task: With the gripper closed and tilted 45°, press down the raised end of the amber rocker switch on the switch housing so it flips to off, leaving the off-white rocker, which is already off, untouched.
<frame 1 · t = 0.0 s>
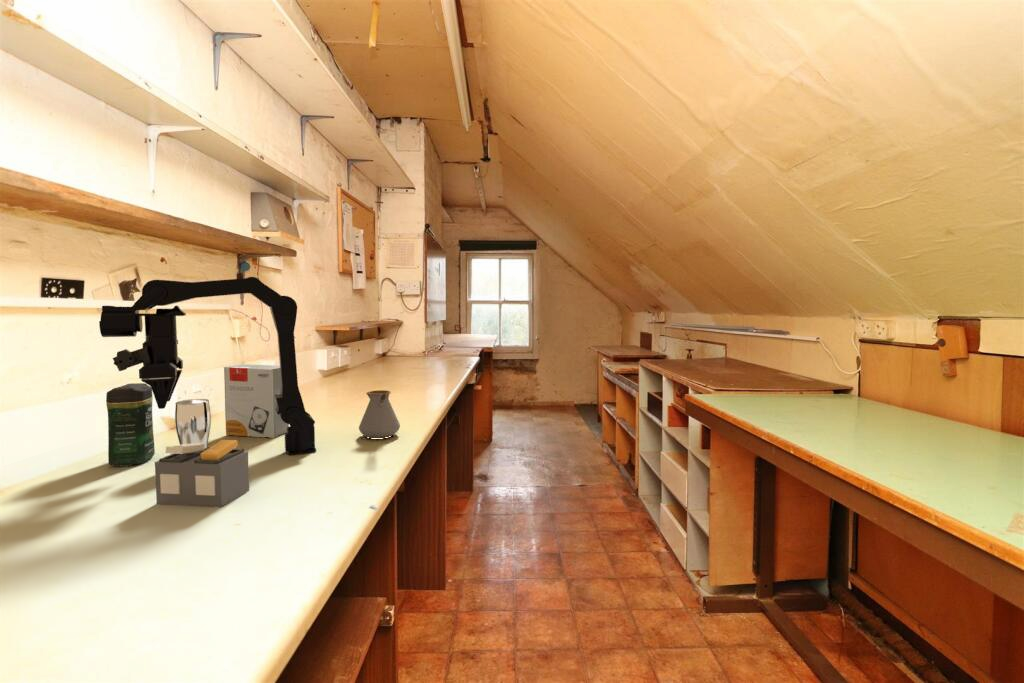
hand: (164, 404, 110), 15 cm above the table, tool pointing down, fingers open, 9 cm apart
switch housing: (204, 497, 94), on the table
hard drive box: (258, 434, 141), on the table
amber rocker: (219, 449, 93), point 10 cm above the table, hinge at 10.0°
coffee jar: (133, 462, 116), on the table
coffee pot: (381, 441, 135), on the table
white rocker: (185, 448, 94), point 10 cm above the table, hinge at -10.0°
beer glass: (195, 465, 113), on the table
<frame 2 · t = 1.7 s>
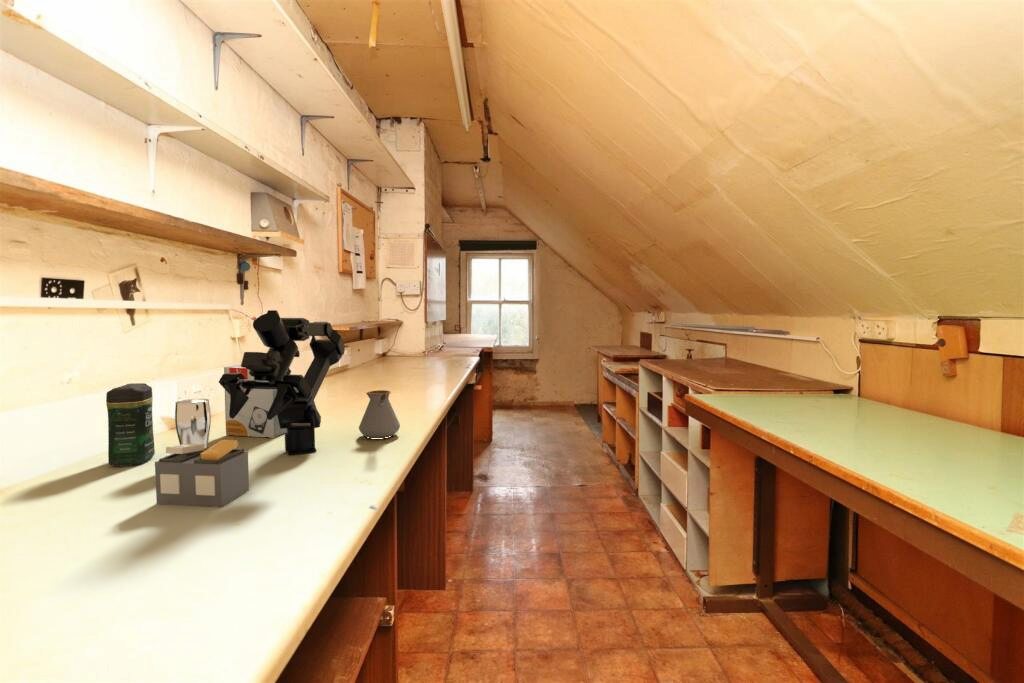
hand: (249, 418, 102), 13 cm above the table, tool tilted 45°, fingers open, 8 cm apart
nothing on the table moved.
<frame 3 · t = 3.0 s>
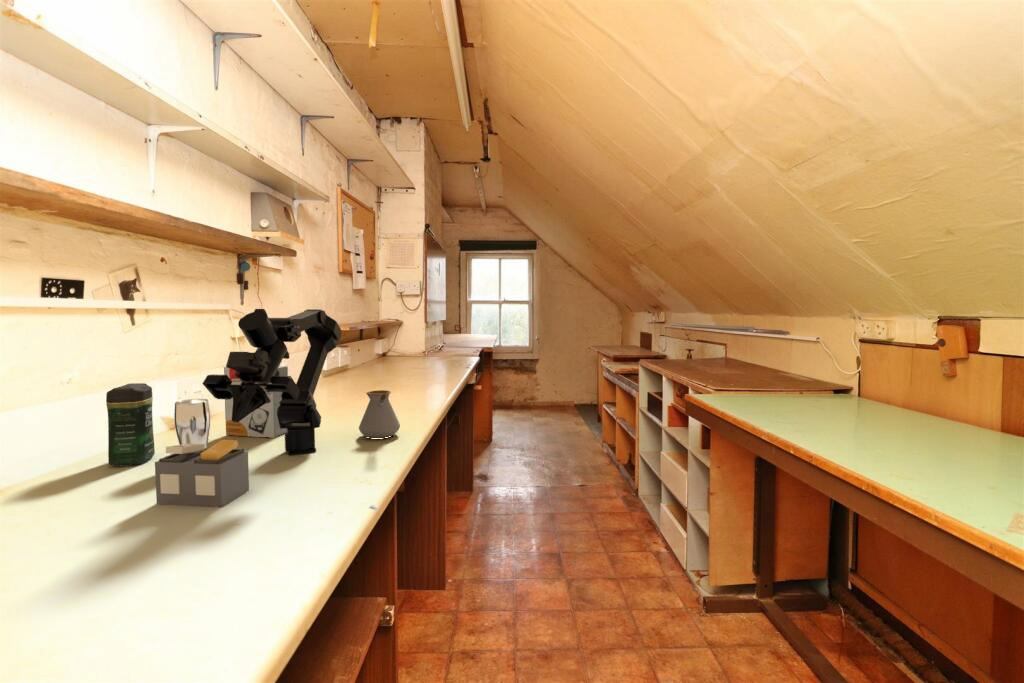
hand: (234, 421, 97), 14 cm above the table, tool tilted 45°, fingers closed
nothing on the table moved.
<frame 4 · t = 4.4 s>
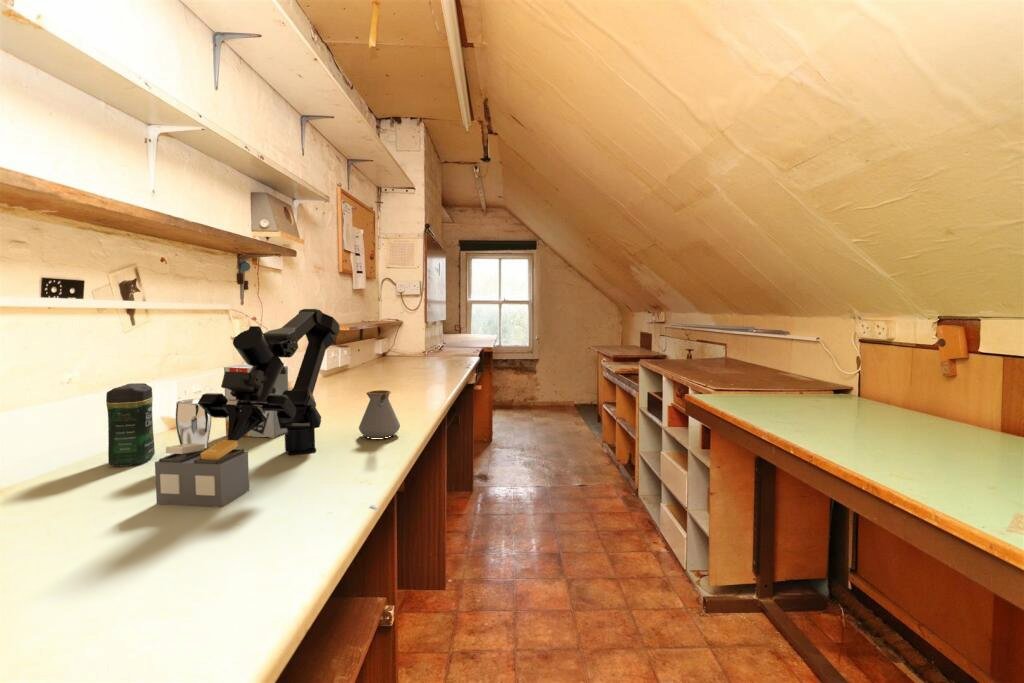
hand: (230, 442, 96), 10 cm above the table, tool tilted 45°, fingers closed, pressing on amber rocker
amber rocker: (219, 449, 93), point 10 cm above the table, hinge at 8.9°, touching gripper
everything else where it was.
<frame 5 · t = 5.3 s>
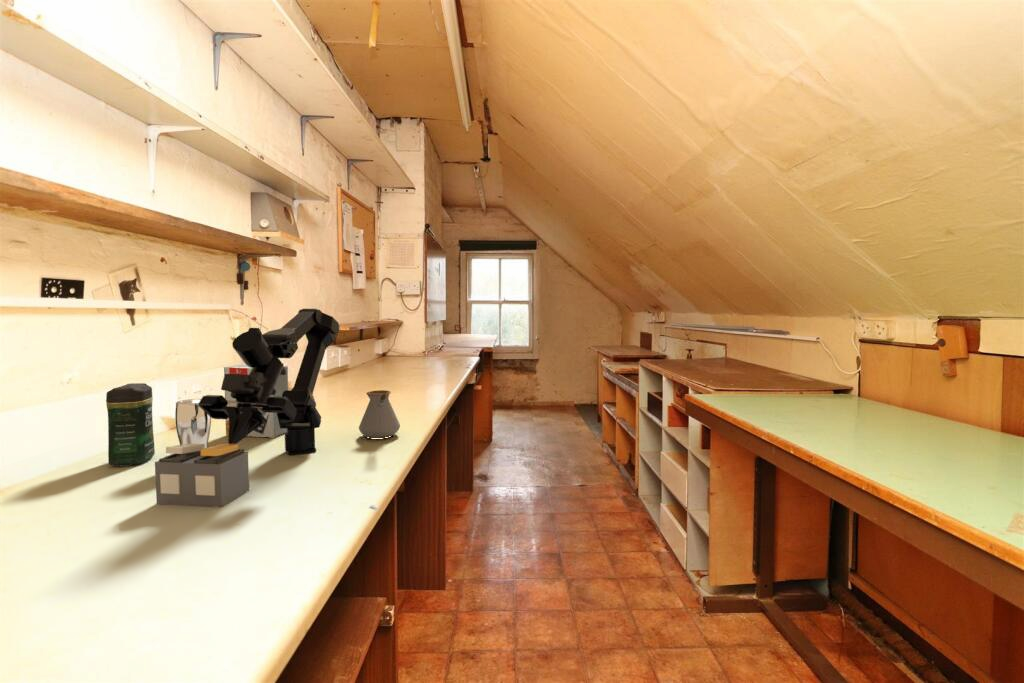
hand: (231, 444, 96), 10 cm above the table, tool tilted 45°, fingers closed, pressing on amber rocker
amber rocker: (219, 449, 93), point 10 cm above the table, hinge at -5.9°, touching gripper
everything else where it was.
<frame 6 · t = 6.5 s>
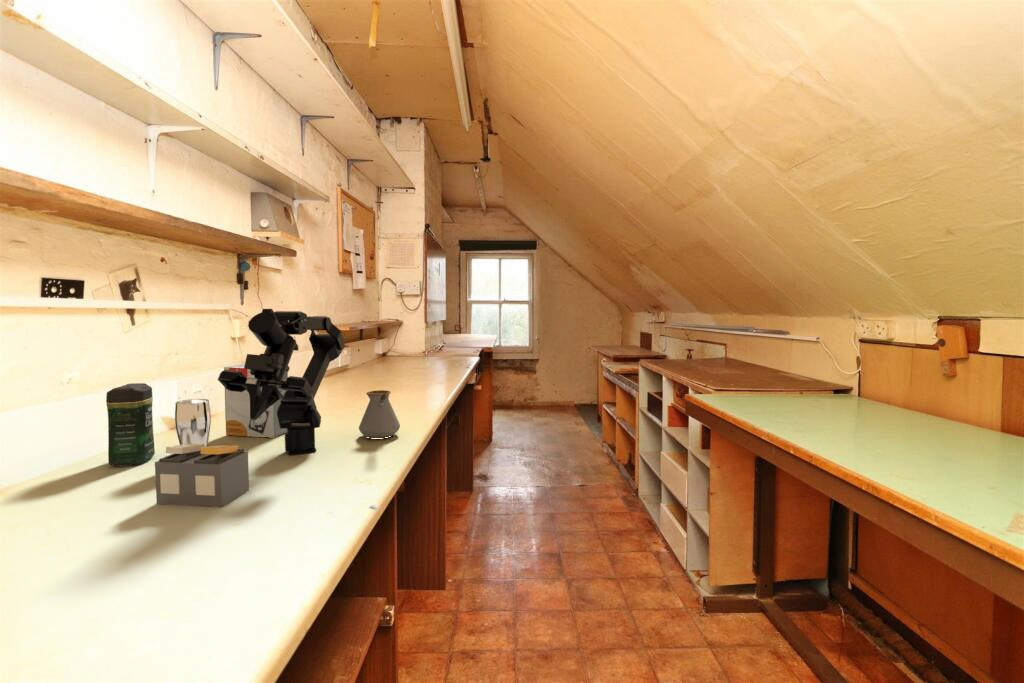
hand: (252, 419, 104), 13 cm above the table, tool tilted 35°, fingers closed
amber rocker: (219, 449, 93), point 10 cm above the table, hinge at -12.3°
everything else where it was.
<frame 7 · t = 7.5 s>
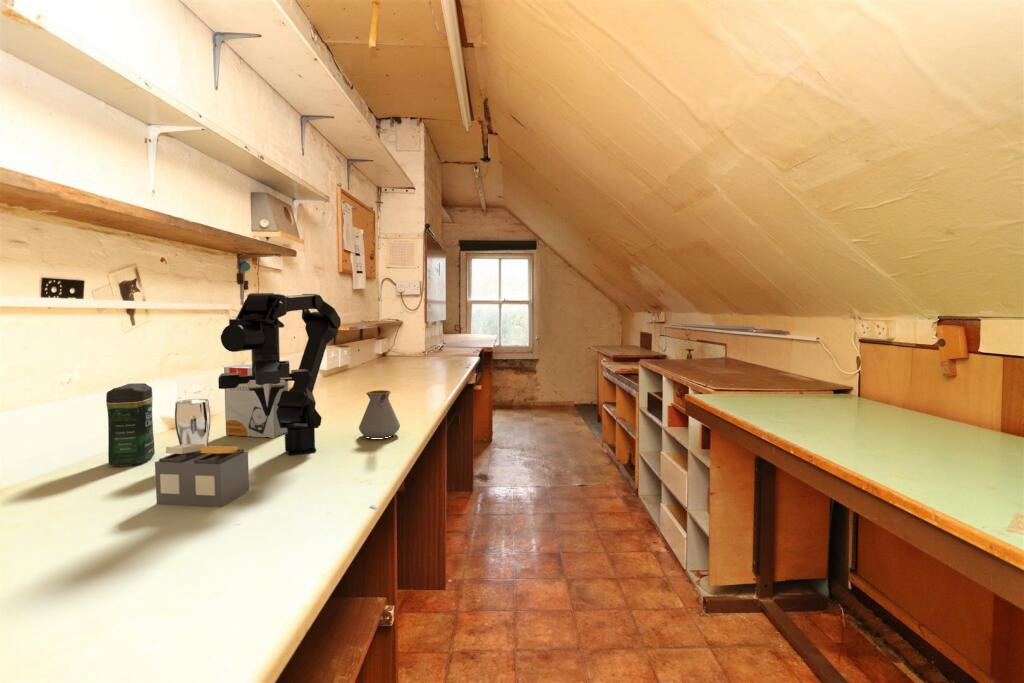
hand: (267, 415, 111), 12 cm above the table, tool pointing down, fingers closed
amber rocker: (219, 449, 93), point 10 cm above the table, hinge at -15.7°
everything else where it was.
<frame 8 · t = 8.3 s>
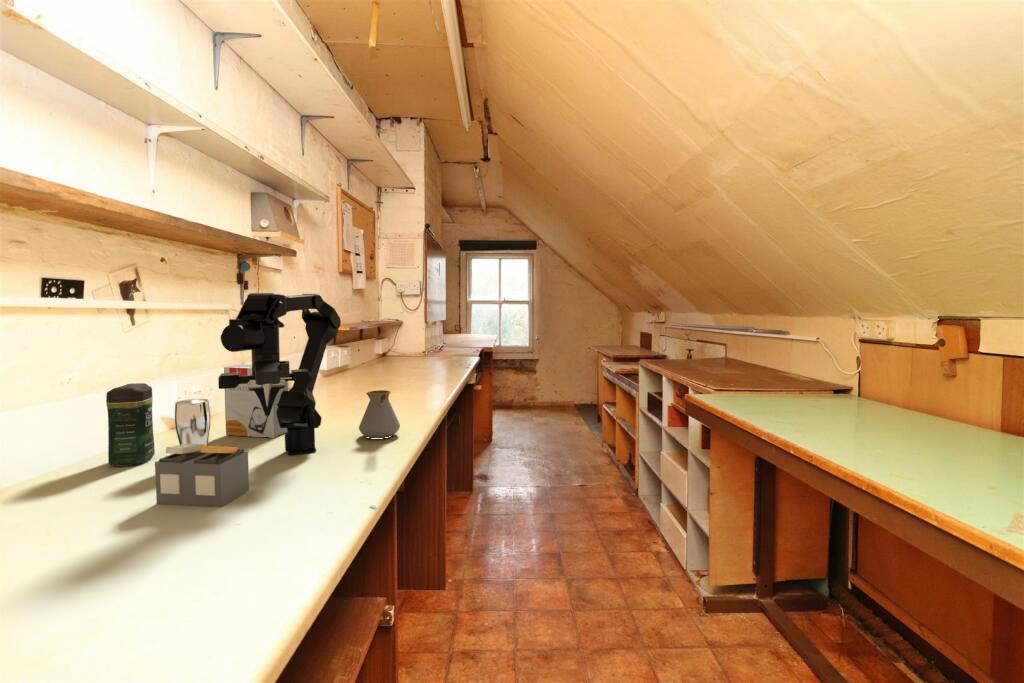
hand: (267, 415, 111), 12 cm above the table, tool pointing down, fingers closed
amber rocker: (219, 449, 93), point 10 cm above the table, hinge at -17.6°
everything else where it was.
at the end: amber rocker at -18° (first picture: +10°); white rocker at -10° (first picture: -10°) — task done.
